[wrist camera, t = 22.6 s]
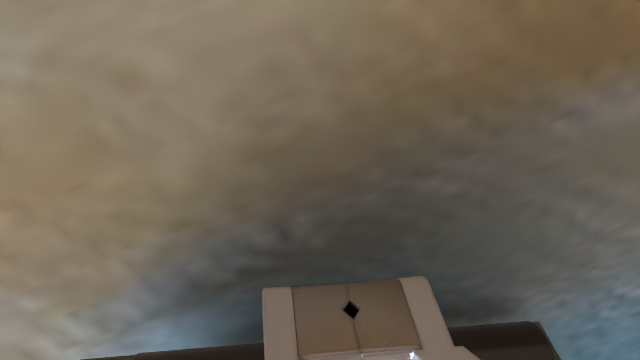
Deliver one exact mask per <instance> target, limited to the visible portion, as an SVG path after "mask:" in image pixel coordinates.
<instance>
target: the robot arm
mask: <svg viewBox="0 0 640 360" xmlns="http://www.w3.org/2000/svg"><path fill="white" fill-rule="evenodd" d="M262 304H263V331H264V357H265V360H480V359H479V358H478V357H476V356H475V355H474V354H473V353H471V352H470V351H469V350H467V349H466V348H465V347H464V346H454V344H453V341H452V339H451V336H450V334H449V331H448V329H447V326H446V324H445V321H444V319H443V316H442V314H441V311H440V309H439V306H438V304H437V301H436V299H435V296H434V294H433V291H432V289H431V286H430V284H429V281H428V279H427V278H426V277H424V276H417V277H405V278H397V279H395V278H394V279H382V280H371V281H360V282H348V283H340V284H321V285H302V286H291V287H275V288H263V292H262Z"/></svg>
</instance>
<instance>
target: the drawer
mask: <svg viewBox="0 0 640 360" xmlns="http://www.w3.org/2000/svg"><path fill="white" fill-rule="evenodd" d="M447 329H448V331H449V334H450V336H451V339H452V341H453V344H454V346H464V347H465V348H466V349H467V350H469V351H470V352H471V353H473V354H474V355H475V356H476V357H478V358H479V359H480V360H561V358H560V357H559V355H558V353H557V351H556V350H555V348H554V346H553V345H552V343H551V341H550V339H549V338H548V336H547V334H546V332H545V331H544V329H543V327H542V326H541V324H540V322H530V321H522V322H509V323H497V324H485V325H473V326H461V327H449V328H447ZM82 360H265V357H264V343H256V344H244V345H232V346H220V347H208V348H195V349H183V350H171V351H159V352H147V353H138V354H136V355H130V356H118V357H106V358H94V359H82Z"/></svg>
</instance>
